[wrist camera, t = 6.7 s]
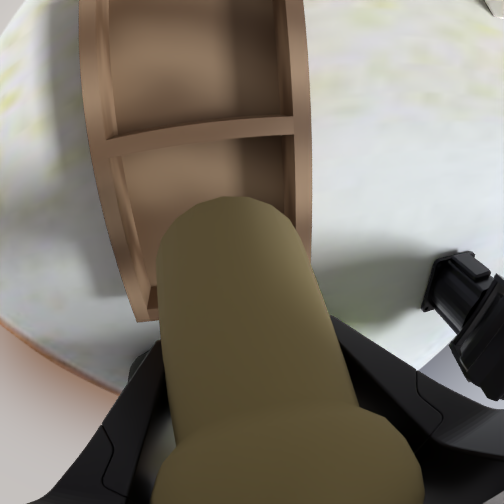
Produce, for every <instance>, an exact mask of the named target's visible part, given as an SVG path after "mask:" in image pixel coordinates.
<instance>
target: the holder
mask: <svg viewBox="0 0 504 504" xmlns="http://www.w3.org/2000/svg"><path fill="white" fill-rule="evenodd" d="M79 57H80V73H81V85H82V96H83V105H84V113H85V121H86V128H87V135H88V141H89V147H90V153H91V159H92V164H93V169H94V174H95V179H96V184H97V189H98V193H99V198H100V202H101V206H102V211H103V215H104V219H105V223H106V226H107V230H108V234H109V238H110V241H111V245H112V248H113V252H114V255H115V258H116V262H117V265H118V268H119V272H120V275H121V278H122V281H123V284H124V287H125V290H126V293H127V296H128V299H129V302H130V304H131V307H132V310H133V313H134V316H135V318H136V321H137V322H146V321H155V320H159V311H158V296H157V278H156V256H157V253H158V249H159V245H160V242H161V239H162V237H163V235H164V234H165V233H166V231H167V230H168V228H169V227H170V226H171V224H172V223H173V222H174V220H175V219H176V218H177V217H179V216H180V215H182V214H183V213H184V212H186V211H187V210H189V209H190V208H192V207H193V206H195V205H196V204H198V203H202V202H205V201H208V200H212V199H215V198H218V197H222V196H230V197H250V198H253V199H256V200H259V201H262V202H264V203H267V204H270V205H272V206H273V207H275V208H276V209H277V210H278V211H280V212H281V213H282V214H283V215H285V216H286V217H287V218H288V219H290V221H291V223H292V224H293V226H294V228H295V229H296V231H297V233H298V234H299V236H300V238H301V241H302V243H303V246H304V248H305V251H306V253H307V256H308V259H309V261H310V264H311V234H312V135H311V105H310V83H309V66H308V51H307V38H306V26H305V15H304V5H303V0H79Z"/></svg>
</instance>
